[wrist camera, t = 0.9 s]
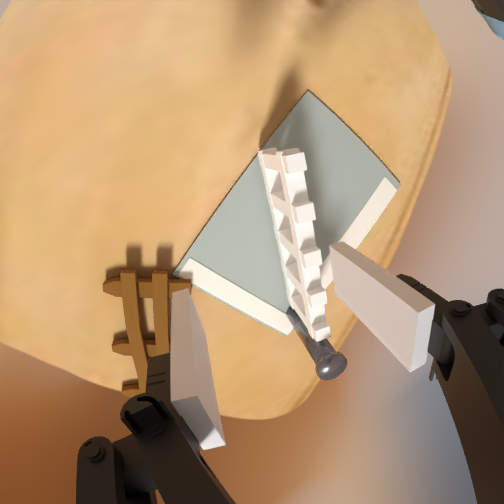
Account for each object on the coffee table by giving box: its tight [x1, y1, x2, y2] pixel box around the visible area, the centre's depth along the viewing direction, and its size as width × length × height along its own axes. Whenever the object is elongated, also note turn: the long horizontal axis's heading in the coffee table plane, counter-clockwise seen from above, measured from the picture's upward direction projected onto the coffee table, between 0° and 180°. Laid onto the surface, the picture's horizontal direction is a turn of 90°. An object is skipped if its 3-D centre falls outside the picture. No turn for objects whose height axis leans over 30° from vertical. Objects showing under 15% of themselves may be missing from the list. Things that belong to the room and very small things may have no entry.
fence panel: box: [258, 148, 331, 342], centre depth 29 cm, size 18×2×9 cm, turn 13°
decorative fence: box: [103, 269, 191, 398], centre depth 35 cm, size 25×2×10 cm
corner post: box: [286, 306, 347, 380], centre depth 32 cm, size 3×3×12 cm
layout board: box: [173, 91, 401, 337], centre depth 34 cm, size 25×17×1 cm
